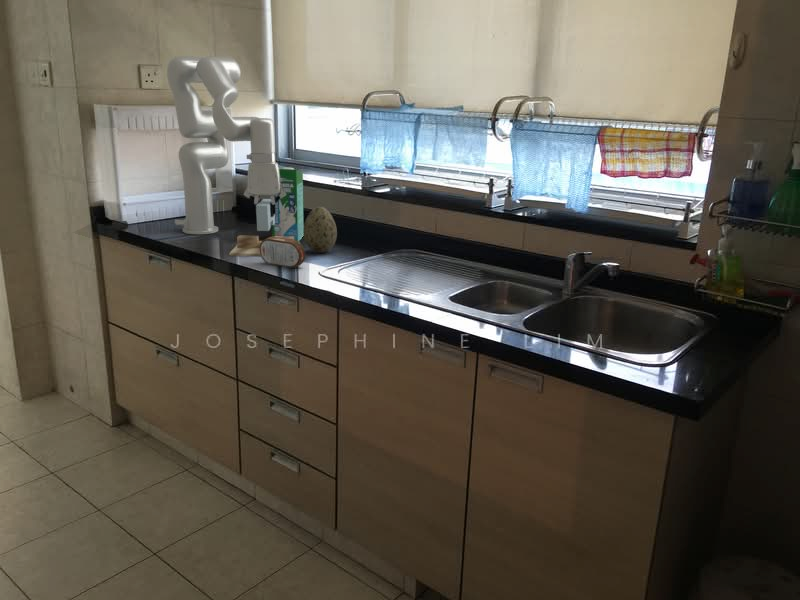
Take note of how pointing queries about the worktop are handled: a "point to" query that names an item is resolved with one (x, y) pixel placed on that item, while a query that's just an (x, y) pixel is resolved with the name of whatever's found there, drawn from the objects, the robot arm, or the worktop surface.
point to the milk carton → (290, 205)
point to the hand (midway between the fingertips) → (265, 215)
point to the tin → (282, 252)
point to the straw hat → (250, 245)
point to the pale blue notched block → (264, 215)
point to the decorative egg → (320, 230)
